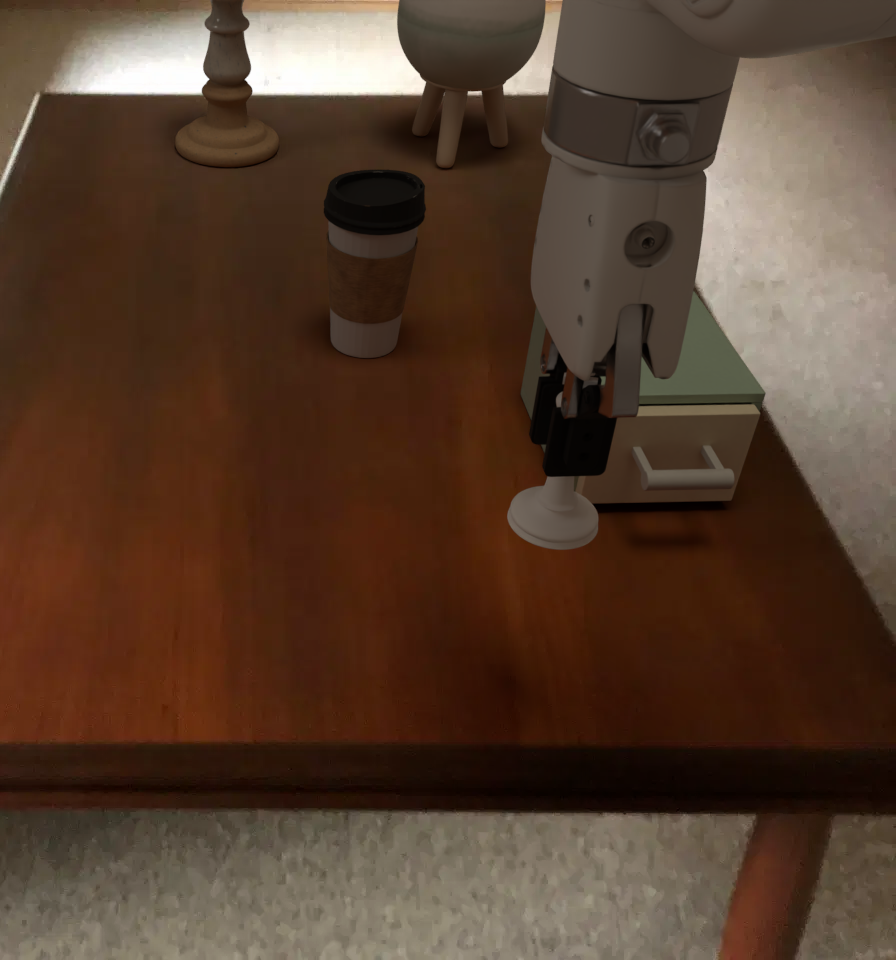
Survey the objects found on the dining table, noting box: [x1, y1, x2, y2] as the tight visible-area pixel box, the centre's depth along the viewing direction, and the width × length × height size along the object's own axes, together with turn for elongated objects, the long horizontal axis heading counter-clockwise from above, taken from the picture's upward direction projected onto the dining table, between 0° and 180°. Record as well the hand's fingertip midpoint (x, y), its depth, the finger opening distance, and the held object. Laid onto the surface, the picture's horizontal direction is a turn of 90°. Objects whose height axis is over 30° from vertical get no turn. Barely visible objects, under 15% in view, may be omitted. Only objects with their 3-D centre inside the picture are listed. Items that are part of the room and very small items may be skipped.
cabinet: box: [520, 290, 767, 492], centre depth 91 cm, size 15×13×10 cm
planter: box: [396, 0, 547, 169], centre depth 133 cm, size 16×16×22 cm
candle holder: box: [174, 0, 280, 168], centre depth 134 cm, size 12×12×20 cm
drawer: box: [575, 403, 761, 505], centre depth 88 cm, size 18×11×8 cm, turn 3°
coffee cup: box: [323, 169, 427, 359], centre depth 101 cm, size 8×8×15 cm
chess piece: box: [506, 372, 599, 551], centre depth 62 cm, size 5×5×10 cm
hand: (565, 454), depth 63 cm, fingers closed on chess piece
